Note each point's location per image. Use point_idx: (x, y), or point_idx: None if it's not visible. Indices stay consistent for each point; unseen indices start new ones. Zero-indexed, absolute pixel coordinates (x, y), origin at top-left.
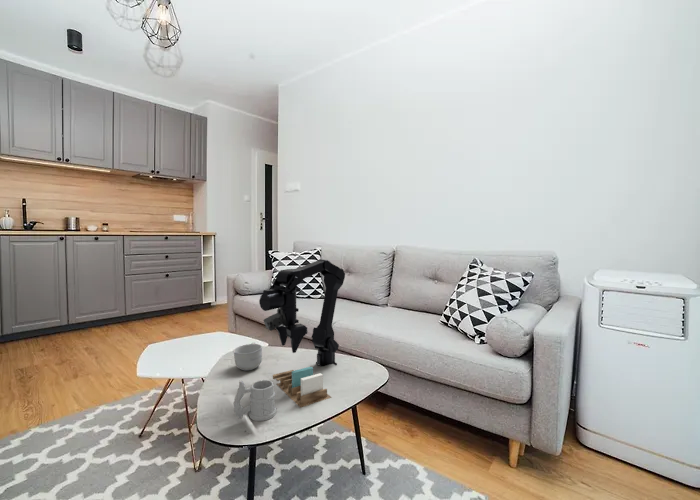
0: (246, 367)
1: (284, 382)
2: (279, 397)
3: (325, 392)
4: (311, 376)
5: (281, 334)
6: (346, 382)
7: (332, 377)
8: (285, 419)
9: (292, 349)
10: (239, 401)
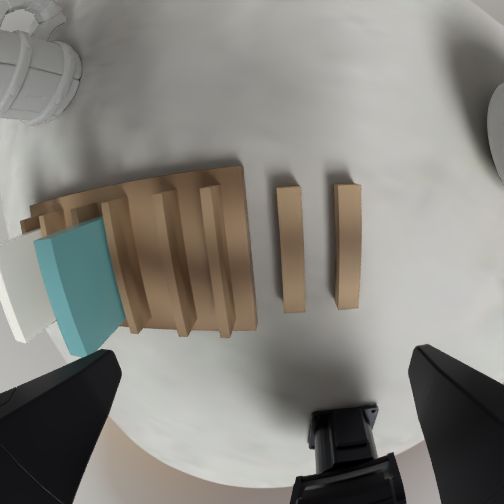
0: (489, 104)
1: (155, 195)
2: (137, 154)
3: None
4: (5, 297)
5: (493, 447)
6: (164, 409)
7: (219, 402)
8: (25, 150)
9: (73, 364)
10: (22, 8)
